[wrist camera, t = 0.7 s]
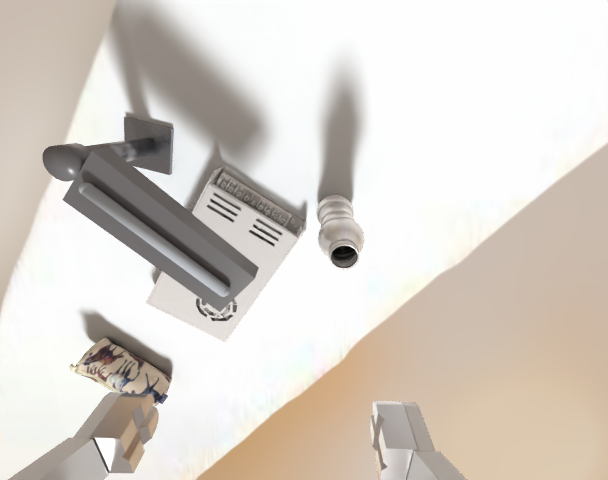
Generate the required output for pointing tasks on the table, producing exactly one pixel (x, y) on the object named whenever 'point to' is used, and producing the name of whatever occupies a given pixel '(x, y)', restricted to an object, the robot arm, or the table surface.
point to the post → (144, 146)
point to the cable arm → (150, 222)
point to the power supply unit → (243, 237)
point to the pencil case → (122, 371)
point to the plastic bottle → (339, 232)
